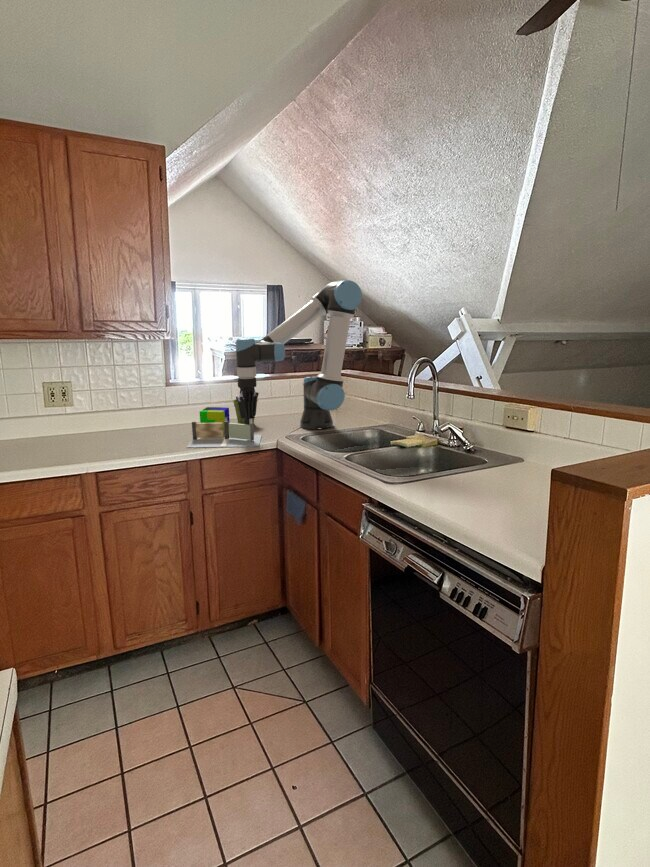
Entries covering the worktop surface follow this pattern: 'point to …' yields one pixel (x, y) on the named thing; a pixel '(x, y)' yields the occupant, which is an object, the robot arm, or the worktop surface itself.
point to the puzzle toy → (215, 415)
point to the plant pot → (240, 420)
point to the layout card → (224, 442)
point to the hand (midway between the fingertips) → (249, 434)
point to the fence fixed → (210, 430)
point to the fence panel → (241, 431)
